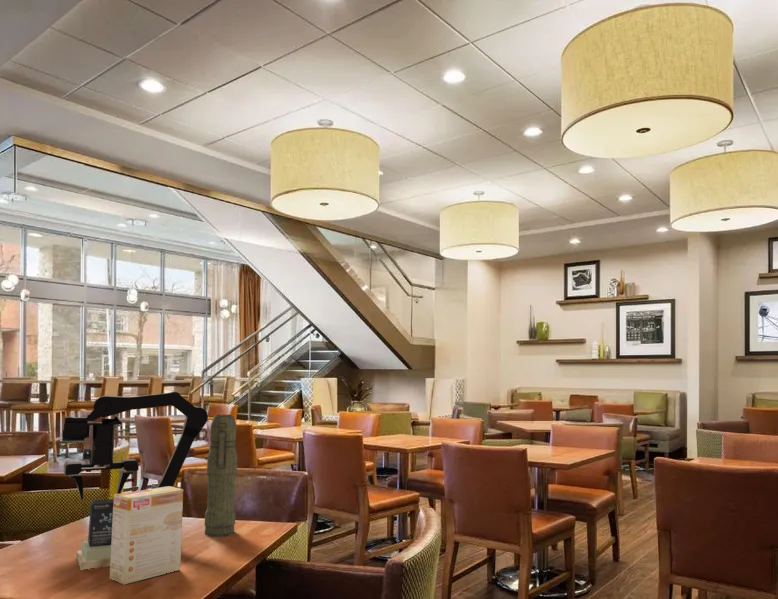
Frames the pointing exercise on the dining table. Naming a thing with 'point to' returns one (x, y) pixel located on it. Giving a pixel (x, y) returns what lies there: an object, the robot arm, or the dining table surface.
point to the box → (100, 522)
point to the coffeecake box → (146, 534)
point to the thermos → (221, 477)
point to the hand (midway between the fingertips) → (99, 498)
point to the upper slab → (96, 551)
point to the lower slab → (91, 562)
